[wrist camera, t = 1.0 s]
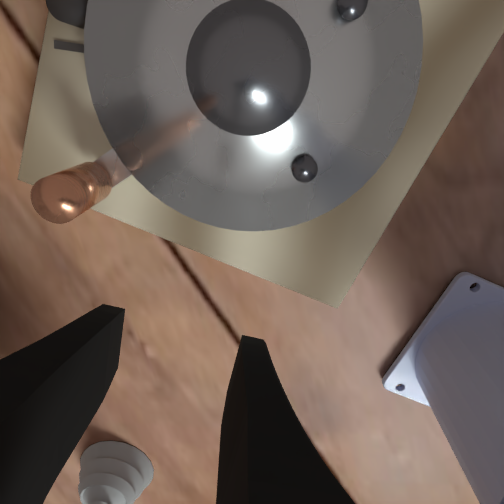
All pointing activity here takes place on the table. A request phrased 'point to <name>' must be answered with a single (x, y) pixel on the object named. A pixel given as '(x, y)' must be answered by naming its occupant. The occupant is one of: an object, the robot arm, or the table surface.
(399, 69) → the grey turntable
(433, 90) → the post base
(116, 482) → the chalice
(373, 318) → the table surface
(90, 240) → the table surface
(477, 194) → the table surface
